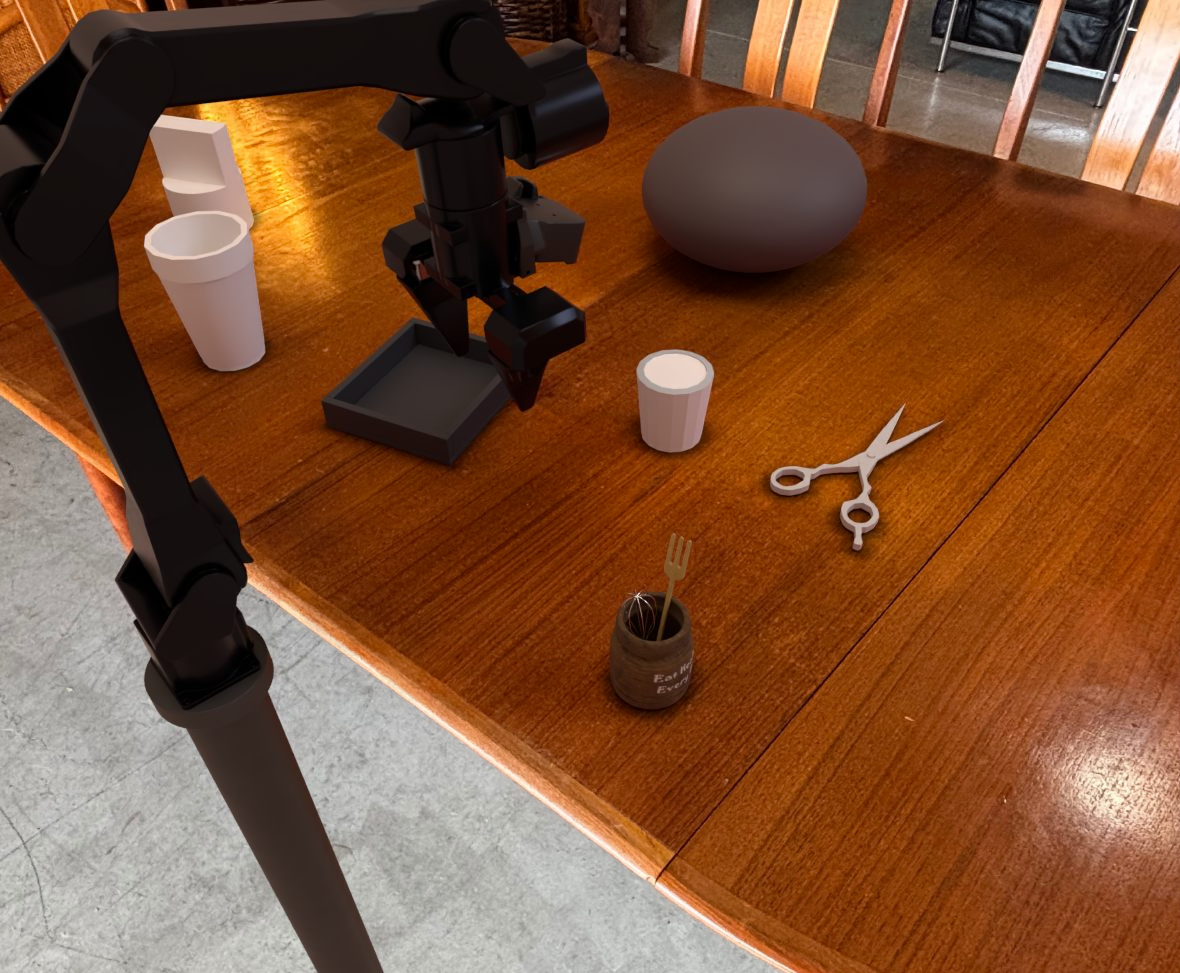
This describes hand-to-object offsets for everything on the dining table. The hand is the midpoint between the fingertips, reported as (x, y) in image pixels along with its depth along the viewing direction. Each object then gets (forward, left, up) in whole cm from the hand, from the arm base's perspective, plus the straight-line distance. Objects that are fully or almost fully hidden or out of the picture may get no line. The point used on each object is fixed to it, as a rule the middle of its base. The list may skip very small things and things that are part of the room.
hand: (493, 380), depth 78 cm
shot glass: (+17, -3, -12) cm, 21 cm away
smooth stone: (+47, +16, -12) cm, 51 cm away
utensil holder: (-4, -23, -12) cm, 27 cm away
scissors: (+27, -18, -12) cm, 35 cm away
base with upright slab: (+3, +63, -12) cm, 64 cm away
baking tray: (+3, +16, -12) cm, 20 cm away
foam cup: (-8, +36, -12) cm, 38 cm away
